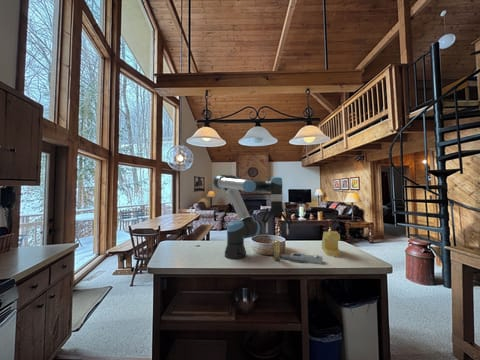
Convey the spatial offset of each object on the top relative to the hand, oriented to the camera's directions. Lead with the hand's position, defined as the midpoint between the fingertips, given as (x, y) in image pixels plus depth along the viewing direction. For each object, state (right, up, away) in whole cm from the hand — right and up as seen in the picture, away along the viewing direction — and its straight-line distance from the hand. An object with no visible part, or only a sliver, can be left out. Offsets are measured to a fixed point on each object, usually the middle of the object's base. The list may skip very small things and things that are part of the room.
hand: (277, 233), depth 142 cm
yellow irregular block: (+42, -18, +16) cm, 49 cm away
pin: (0, -17, -1) cm, 17 cm away
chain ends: (+13, -17, 0) cm, 22 cm away
